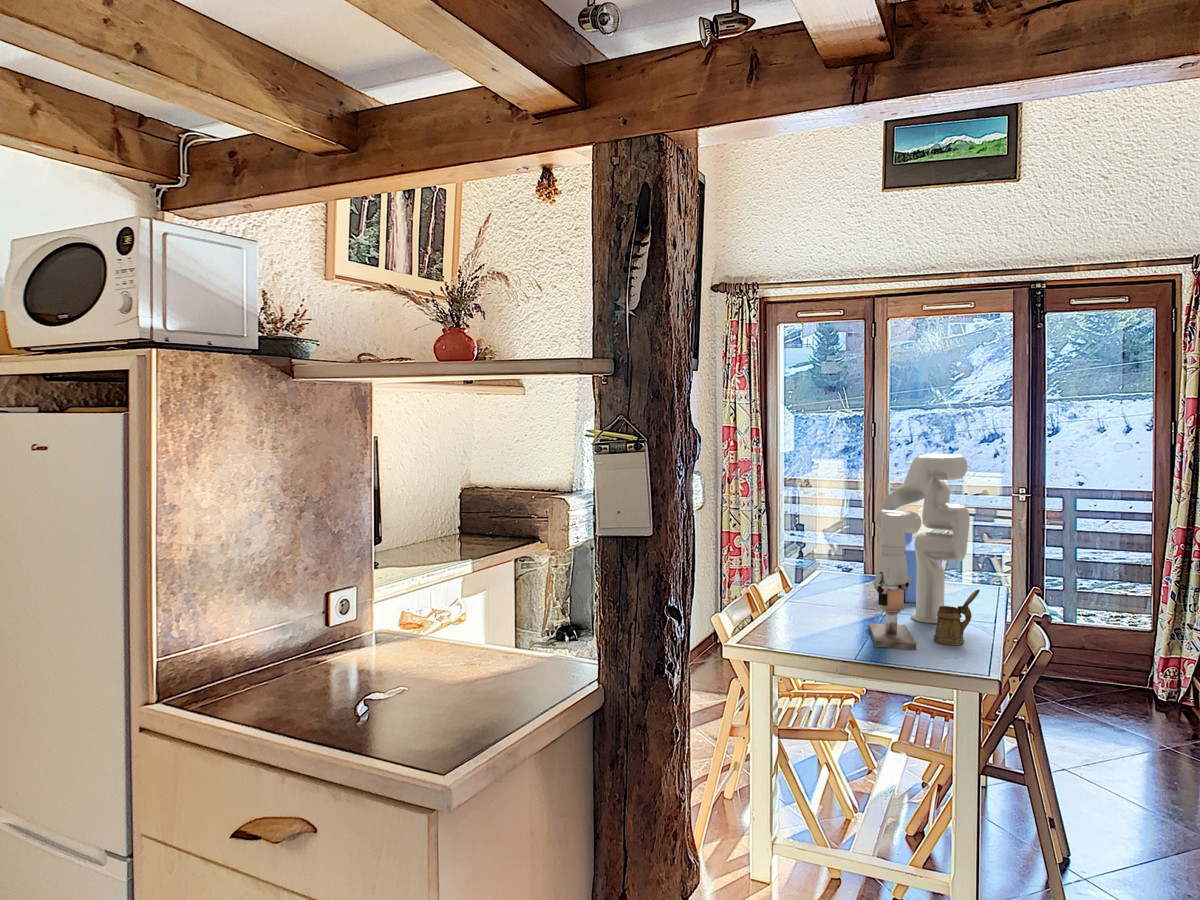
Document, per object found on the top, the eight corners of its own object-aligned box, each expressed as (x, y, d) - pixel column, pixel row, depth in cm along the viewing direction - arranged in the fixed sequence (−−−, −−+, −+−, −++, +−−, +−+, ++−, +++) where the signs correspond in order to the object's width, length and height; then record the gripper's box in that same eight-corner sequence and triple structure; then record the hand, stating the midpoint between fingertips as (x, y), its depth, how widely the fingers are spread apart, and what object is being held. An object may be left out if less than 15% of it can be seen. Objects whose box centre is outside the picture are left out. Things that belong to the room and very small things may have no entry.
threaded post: (899, 631, 278) (899, 607, 278) (901, 635, 273) (901, 611, 272) (881, 630, 279) (881, 606, 279) (883, 634, 274) (883, 610, 274)
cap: (907, 608, 275) (908, 589, 275) (896, 611, 270) (897, 592, 270) (886, 604, 281) (887, 585, 281) (875, 607, 276) (875, 588, 276)
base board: (905, 630, 286) (905, 625, 286) (916, 649, 263) (916, 643, 263) (868, 628, 289) (868, 623, 289) (876, 647, 266) (876, 641, 266)
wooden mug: (979, 648, 265) (980, 592, 265) (933, 643, 270) (934, 588, 269) (977, 641, 273) (979, 586, 273) (933, 637, 278) (934, 583, 278)
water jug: (923, 595, 344) (924, 528, 343) (931, 604, 328) (932, 533, 327) (883, 594, 347) (884, 527, 346) (889, 602, 331) (891, 532, 330)
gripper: (903, 547, 282) (902, 599, 283) (864, 550, 274) (863, 604, 275) (920, 550, 276) (919, 603, 276) (882, 554, 268) (881, 609, 268)
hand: (891, 603), depth 276 cm, fingers closed on cap, 7 cm apart
